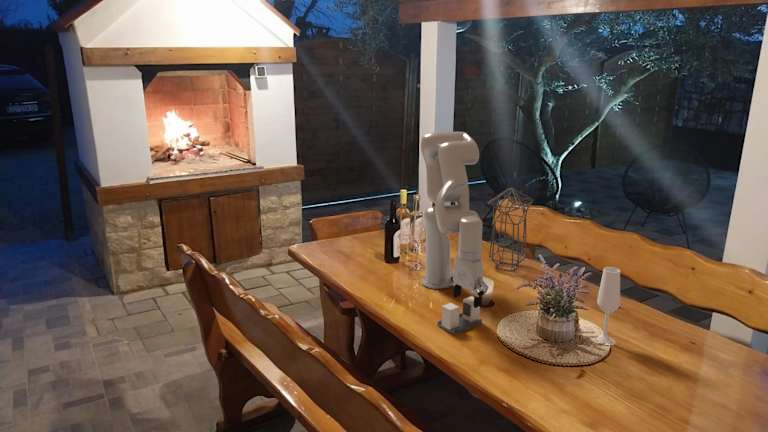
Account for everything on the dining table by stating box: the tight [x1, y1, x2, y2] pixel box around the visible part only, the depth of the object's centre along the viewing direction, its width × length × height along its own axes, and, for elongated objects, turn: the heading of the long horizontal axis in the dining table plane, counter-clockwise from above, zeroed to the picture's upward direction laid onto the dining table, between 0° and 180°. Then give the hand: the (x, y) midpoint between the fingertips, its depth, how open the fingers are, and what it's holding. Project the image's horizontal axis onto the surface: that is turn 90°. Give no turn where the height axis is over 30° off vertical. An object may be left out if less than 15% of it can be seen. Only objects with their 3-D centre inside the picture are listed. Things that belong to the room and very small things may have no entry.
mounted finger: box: [441, 302, 460, 330], centre depth 192 cm, size 5×4×7 cm
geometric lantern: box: [486, 187, 535, 272], centre depth 243 cm, size 16×16×35 cm
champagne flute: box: [596, 266, 621, 347], centre depth 181 cm, size 7×7×24 cm
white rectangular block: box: [462, 296, 481, 322], centre depth 197 cm, size 5×4×7 cm
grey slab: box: [437, 312, 483, 336], centre depth 195 cm, size 13×8×2 cm, turn 127°
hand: (467, 301), depth 196 cm, fingers open, 9 cm apart
